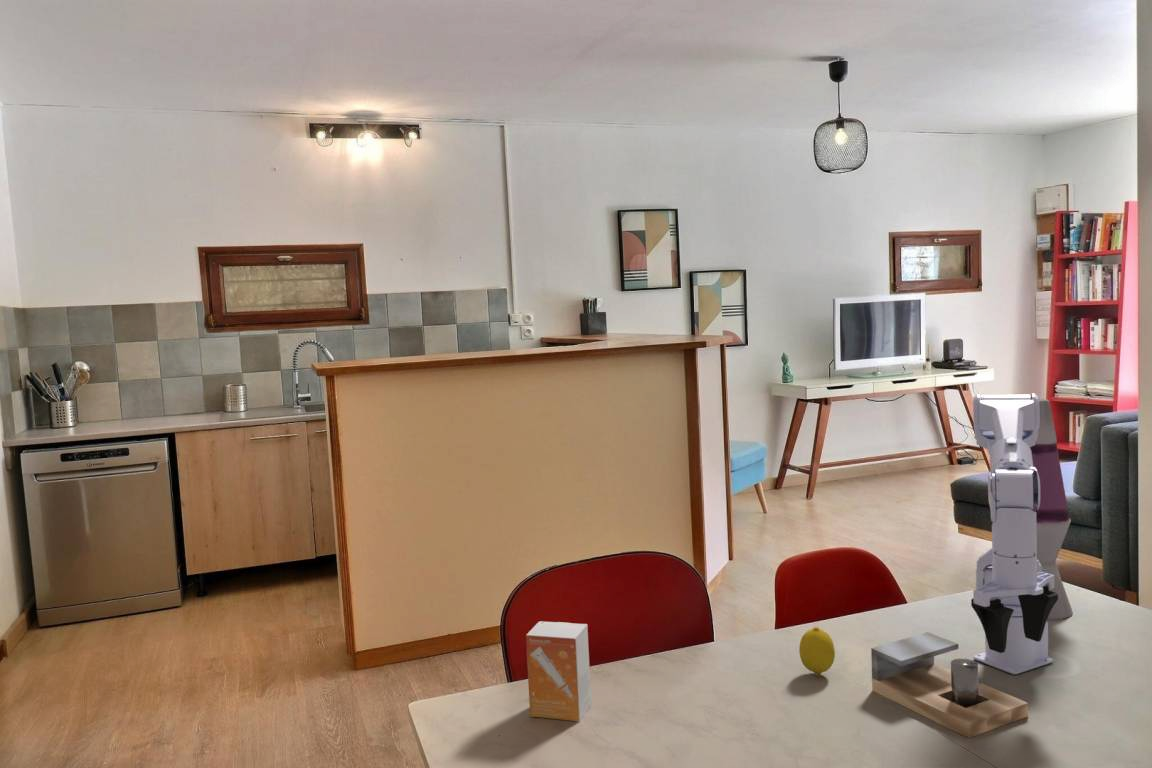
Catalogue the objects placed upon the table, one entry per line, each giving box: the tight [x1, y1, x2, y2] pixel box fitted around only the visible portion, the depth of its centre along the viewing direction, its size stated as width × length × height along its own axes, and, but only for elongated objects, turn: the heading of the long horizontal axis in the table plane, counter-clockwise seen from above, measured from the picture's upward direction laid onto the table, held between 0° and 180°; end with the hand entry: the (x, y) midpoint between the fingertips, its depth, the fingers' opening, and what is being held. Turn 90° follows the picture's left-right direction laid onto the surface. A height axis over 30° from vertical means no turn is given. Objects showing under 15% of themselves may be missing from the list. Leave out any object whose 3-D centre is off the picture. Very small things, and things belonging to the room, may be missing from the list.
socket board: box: [870, 631, 1029, 739], centre depth 134 cm, size 12×18×7 cm, turn 26°
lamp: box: [1030, 398, 1073, 621], centre depth 168 cm, size 11×11×40 cm
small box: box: [525, 620, 592, 723], centre depth 137 cm, size 8×6×13 cm
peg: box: [950, 658, 979, 708], centre depth 131 cm, size 4×4×7 cm
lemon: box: [798, 626, 836, 676], centre depth 146 cm, size 6×6×8 cm
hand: (1015, 644), depth 129 cm, fingers open, 7 cm apart
